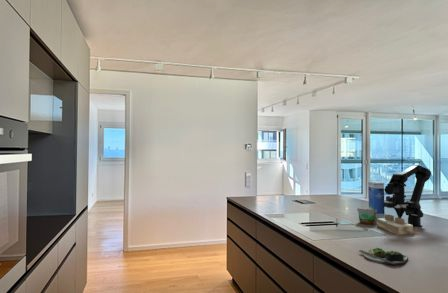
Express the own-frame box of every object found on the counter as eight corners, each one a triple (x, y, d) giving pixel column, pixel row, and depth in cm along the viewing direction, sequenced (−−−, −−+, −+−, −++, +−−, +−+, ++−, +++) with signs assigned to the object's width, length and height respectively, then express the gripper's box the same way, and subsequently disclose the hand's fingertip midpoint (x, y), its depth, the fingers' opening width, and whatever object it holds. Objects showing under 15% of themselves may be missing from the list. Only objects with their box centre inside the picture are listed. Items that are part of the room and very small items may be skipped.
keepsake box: (391, 226, 197) (391, 219, 197) (413, 234, 177) (413, 226, 177) (376, 226, 196) (376, 219, 196) (397, 235, 176) (397, 227, 176)
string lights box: (385, 218, 219) (384, 182, 220) (373, 218, 221) (373, 182, 221) (378, 214, 233) (378, 181, 233) (368, 214, 234) (367, 181, 234)
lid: (402, 223, 187) (402, 216, 187) (412, 227, 178) (412, 220, 178) (387, 224, 186) (387, 217, 186) (397, 227, 177) (397, 220, 177)
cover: (391, 219, 197) (391, 213, 197) (401, 222, 187) (401, 216, 187) (377, 219, 196) (377, 213, 196) (386, 223, 186) (386, 216, 186)
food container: (356, 223, 204) (356, 208, 204) (357, 222, 209) (357, 207, 209) (377, 225, 198) (376, 210, 198) (377, 223, 204) (377, 208, 204)
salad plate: (352, 258, 139) (352, 248, 139) (366, 249, 152) (366, 240, 152) (400, 269, 125) (400, 258, 125) (410, 258, 138) (410, 248, 138)
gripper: (404, 191, 201) (404, 215, 201) (377, 192, 200) (378, 216, 199) (416, 193, 190) (416, 219, 190) (388, 194, 188) (388, 219, 188)
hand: (399, 218), depth 192 cm, fingers closed
